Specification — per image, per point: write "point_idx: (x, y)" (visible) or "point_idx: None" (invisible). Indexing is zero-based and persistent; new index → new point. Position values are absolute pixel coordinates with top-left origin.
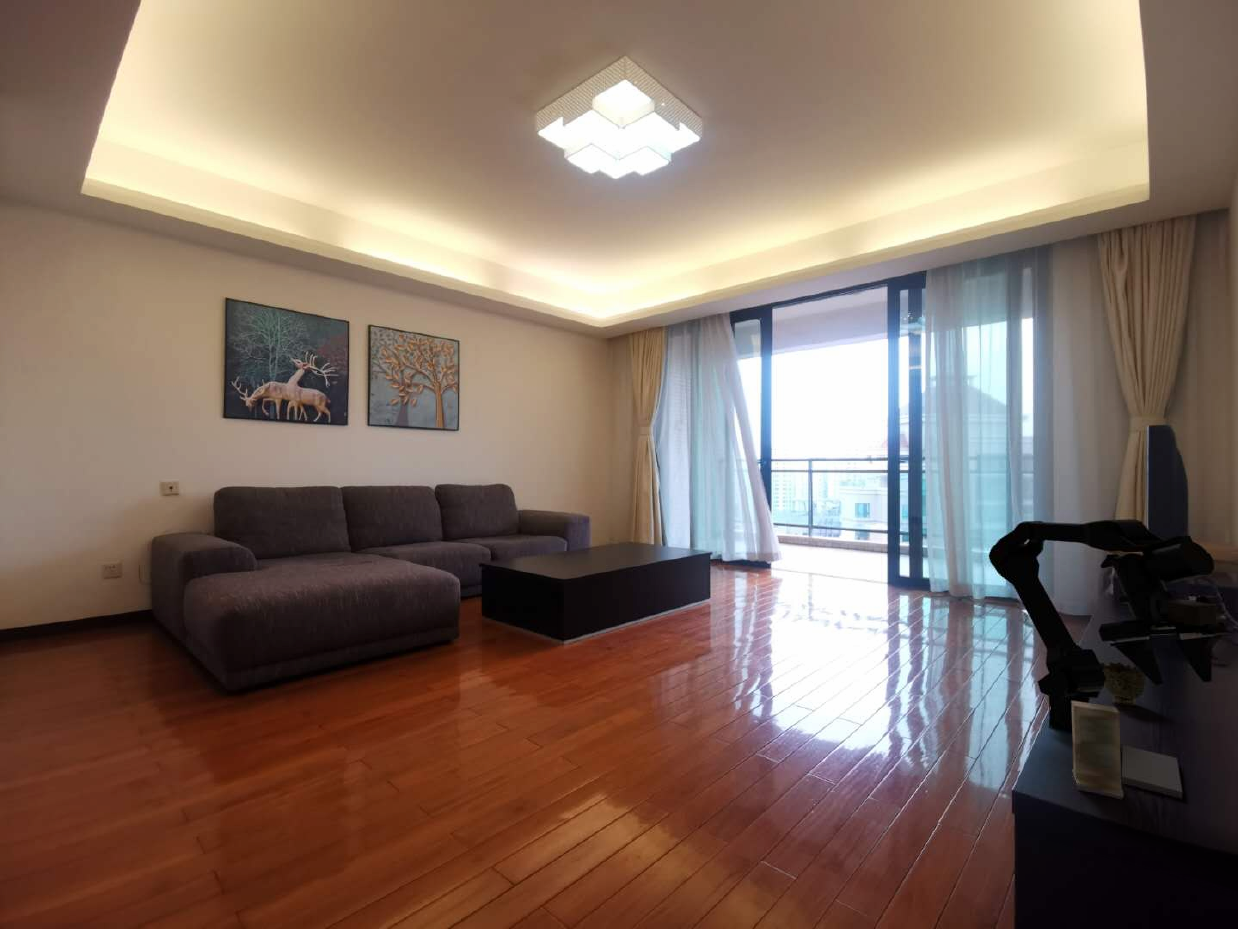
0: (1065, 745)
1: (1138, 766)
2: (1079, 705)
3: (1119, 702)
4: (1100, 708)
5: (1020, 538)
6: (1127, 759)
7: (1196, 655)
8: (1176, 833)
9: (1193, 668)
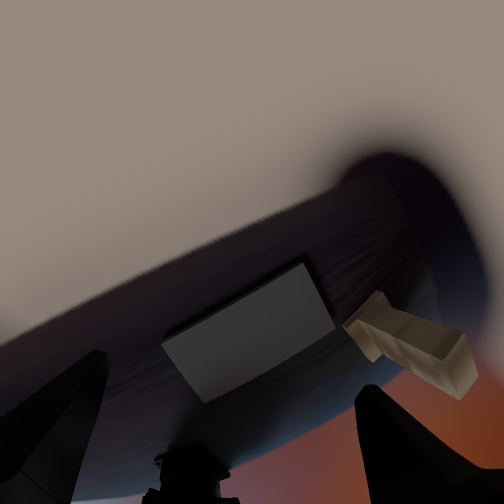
0: (272, 432)
1: (270, 346)
2: (473, 376)
3: None
4: (466, 358)
5: None
6: (259, 368)
7: (55, 467)
8: (395, 214)
9: (91, 432)
